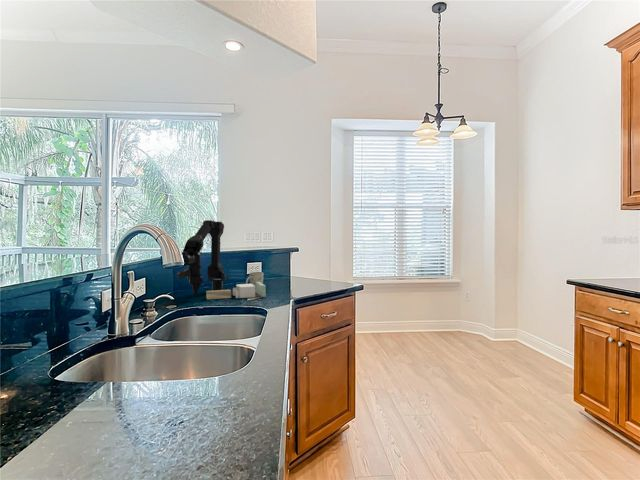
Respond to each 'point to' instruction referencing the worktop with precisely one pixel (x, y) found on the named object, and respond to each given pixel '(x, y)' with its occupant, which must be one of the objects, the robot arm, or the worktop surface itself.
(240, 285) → the block
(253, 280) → the mug
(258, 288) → the wall
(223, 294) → the dowel
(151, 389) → the worktop surface
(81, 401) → the worktop surface
